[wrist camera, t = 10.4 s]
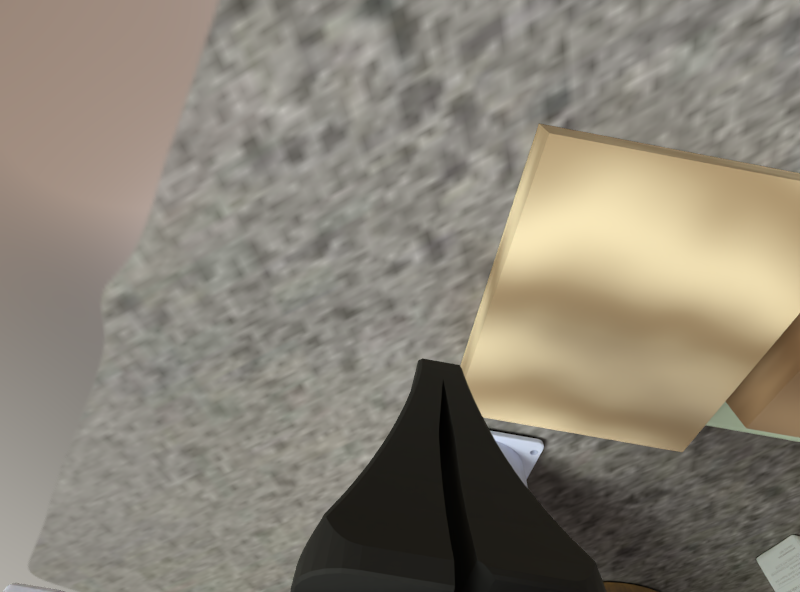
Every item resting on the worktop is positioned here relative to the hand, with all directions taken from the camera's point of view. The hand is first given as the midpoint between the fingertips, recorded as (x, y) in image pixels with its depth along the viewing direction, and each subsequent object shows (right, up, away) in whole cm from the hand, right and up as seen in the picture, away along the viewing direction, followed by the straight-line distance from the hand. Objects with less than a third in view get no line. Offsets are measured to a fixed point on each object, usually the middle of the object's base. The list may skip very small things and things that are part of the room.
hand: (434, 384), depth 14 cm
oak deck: (+10, +2, +9) cm, 14 cm away
